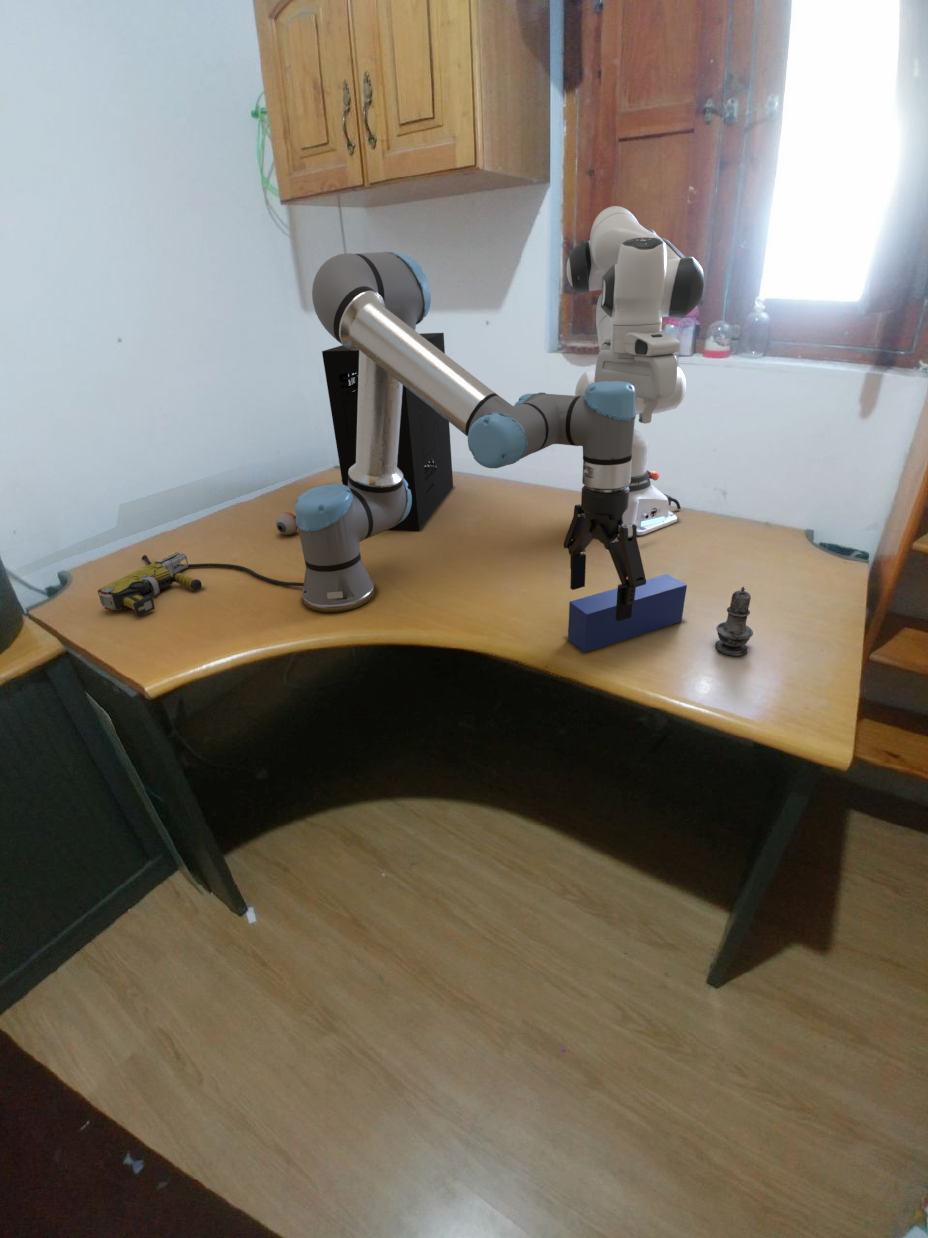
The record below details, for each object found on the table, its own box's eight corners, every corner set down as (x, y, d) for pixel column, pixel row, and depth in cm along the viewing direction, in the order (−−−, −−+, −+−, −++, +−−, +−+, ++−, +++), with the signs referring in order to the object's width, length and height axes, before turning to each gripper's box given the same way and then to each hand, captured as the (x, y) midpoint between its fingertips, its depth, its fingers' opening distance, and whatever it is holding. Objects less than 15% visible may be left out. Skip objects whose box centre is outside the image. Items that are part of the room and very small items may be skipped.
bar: (662, 609, 119) (667, 573, 115) (681, 621, 115) (687, 584, 111) (567, 638, 112) (569, 601, 108) (584, 652, 108) (586, 614, 104)
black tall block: (419, 530, 162) (402, 348, 140) (349, 527, 167) (321, 351, 144) (453, 486, 194) (443, 332, 171) (393, 485, 198) (376, 334, 176)
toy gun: (225, 560, 144) (174, 549, 148) (148, 603, 124) (91, 589, 127) (228, 578, 146) (177, 567, 150) (152, 623, 126) (96, 609, 130)
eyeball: (273, 537, 164) (268, 516, 161) (287, 528, 169) (282, 508, 166) (291, 539, 161) (286, 518, 158) (305, 530, 166) (301, 510, 163)
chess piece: (752, 657, 103) (766, 595, 97) (715, 655, 104) (727, 594, 98) (745, 639, 108) (758, 579, 102) (711, 637, 109) (721, 578, 103)
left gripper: (544, 471, 105) (544, 580, 116) (637, 512, 85) (626, 639, 96) (580, 464, 108) (577, 571, 118) (678, 501, 88) (664, 627, 98)
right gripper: (588, 339, 118) (585, 412, 125) (657, 345, 102) (649, 429, 109) (615, 336, 120) (610, 408, 127) (687, 342, 104) (677, 425, 111)
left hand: (599, 602), depth 107 cm, fingers open, 13 cm apart
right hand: (629, 418), depth 118 cm, fingers open, 8 cm apart
